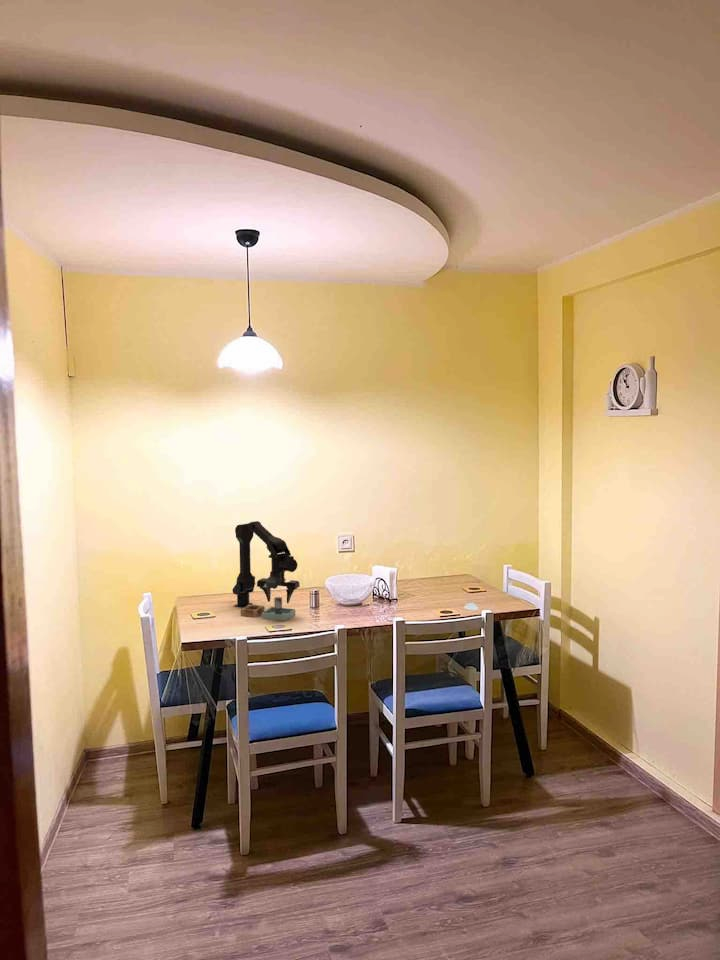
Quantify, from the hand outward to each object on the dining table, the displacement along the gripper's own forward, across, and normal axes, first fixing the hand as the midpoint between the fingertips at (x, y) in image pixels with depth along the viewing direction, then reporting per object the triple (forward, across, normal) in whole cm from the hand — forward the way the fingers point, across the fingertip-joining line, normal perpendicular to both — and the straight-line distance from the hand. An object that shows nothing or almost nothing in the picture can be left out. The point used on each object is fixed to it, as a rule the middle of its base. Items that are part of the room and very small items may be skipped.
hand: (278, 602), depth 297 cm
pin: (+6, 0, 0) cm, 6 cm away
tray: (+6, 0, 0) cm, 6 cm away
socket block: (+6, -13, 0) cm, 15 cm away
